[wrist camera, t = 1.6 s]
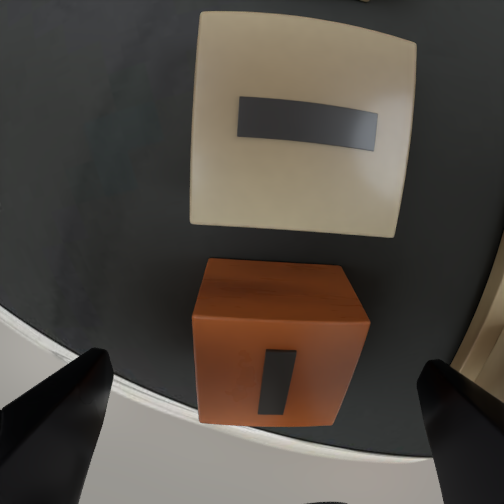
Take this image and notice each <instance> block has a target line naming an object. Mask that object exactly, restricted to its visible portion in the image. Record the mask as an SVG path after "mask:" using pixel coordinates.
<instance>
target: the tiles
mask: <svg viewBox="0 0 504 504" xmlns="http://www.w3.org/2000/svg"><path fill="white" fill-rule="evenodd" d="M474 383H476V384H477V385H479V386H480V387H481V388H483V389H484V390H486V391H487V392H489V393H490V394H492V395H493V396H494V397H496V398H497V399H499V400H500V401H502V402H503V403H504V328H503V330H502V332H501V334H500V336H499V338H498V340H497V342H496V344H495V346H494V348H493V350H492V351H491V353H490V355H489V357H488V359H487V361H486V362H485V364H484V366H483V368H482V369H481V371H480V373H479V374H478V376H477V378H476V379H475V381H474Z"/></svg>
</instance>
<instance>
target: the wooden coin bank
mask: <svg viewBox="0 0 504 504" xmlns="http://www.w3.org/2000/svg"><path fill="white" fill-rule="evenodd" d="M369 327H370V320H369V318H368V316H367V314H366V312H365V310H364V308H363V306H362V304H361V302H360V301H359V299H358V297H357V295H356V293H355V291H354V289H353V287H352V286H351V284H350V282H349V280H348V278H347V276H346V275H345V273H344V271H343V269H342V267H341V266H339V265H321V264H303V263H285V262H268V261H251V260H234V259H218V258H209V259H208V262H207V265H206V269H205V272H204V276H203V279H202V282H201V286H200V289H199V293H198V296H197V300H196V303H195V307H194V311H193V314H192V330H193V348H194V364H195V378H196V391H197V403H198V414H199V421H200V423H207V424H219V425H235V426H259V427H303V426H326V425H333V423H334V421H335V418H336V416H337V414H338V411H339V409H340V407H341V404H342V402H343V399H344V397H345V394H346V392H347V389H348V387H349V384H350V382H351V379H352V376H353V374H354V371H355V368H356V365H357V363H358V360H359V357H360V354H361V351H362V348H363V346H364V343H365V340H366V337H367V334H368V330H369Z"/></svg>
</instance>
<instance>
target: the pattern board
mask: <svg viewBox="0 0 504 504" xmlns="http://www.w3.org/2000/svg"><path fill="white" fill-rule="evenodd" d="M503 328H504V231H503V234H502V238H501V241H500V245H499V248H498V251H497V255H496V258H495V261H494V264H493V267H492V270H491V273H490V276H489V279H488V281H487V284H486V287H485V290H484V292H483V295H482V297H481V300H480V302H479V305H478V307H477V310H476V312H475V314H474V317H473V319H472V321H471V324H470V326H469V328H468V330H467V332H466V335H465V337H464V339H463V341H462V343H461V345H460V347H459V349H458V351H457V353H456V355H455V357H454V359H453V361H452V363H451V365H450V366H451V367H452V368H454V369H455V370H457V371H458V372H460V373H461V374H463V375H464V376H465V377H467V378H468V379H470V380H471V381H473V382H474V381H475V379H476V378H477V376H478V374H479V373H480V371H481V369H482V368H483V366H484V364H485V362H486V361H487V359H488V357H489V355H490V353H491V351H492V350H493V348H494V346H495V344H496V342H497V340H498V338H499V336H500V334H501V332H502V330H503Z"/></svg>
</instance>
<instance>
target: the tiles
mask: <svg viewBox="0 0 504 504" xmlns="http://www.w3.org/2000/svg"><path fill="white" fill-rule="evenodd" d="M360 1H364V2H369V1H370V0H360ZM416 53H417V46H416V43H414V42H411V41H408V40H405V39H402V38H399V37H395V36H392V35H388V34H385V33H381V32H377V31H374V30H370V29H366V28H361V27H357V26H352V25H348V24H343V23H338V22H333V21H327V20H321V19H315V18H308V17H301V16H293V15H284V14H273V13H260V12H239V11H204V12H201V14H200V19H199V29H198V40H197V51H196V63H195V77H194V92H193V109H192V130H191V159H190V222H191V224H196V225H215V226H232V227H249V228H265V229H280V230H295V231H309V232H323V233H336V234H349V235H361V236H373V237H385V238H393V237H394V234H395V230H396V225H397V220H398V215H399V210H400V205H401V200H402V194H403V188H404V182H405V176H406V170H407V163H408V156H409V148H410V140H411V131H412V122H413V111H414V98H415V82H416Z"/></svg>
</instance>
